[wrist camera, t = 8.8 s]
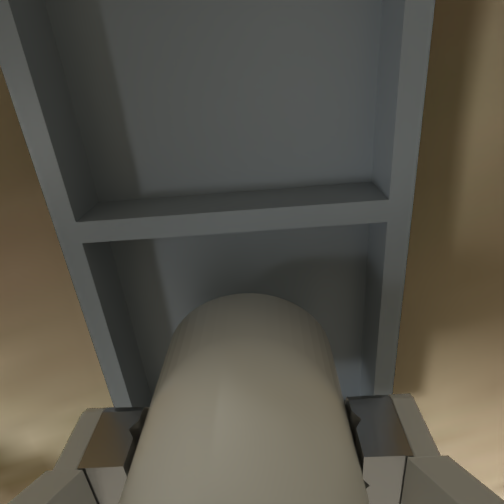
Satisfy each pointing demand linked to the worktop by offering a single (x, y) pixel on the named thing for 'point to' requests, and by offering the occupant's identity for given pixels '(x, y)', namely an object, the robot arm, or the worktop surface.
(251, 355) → the salt pot
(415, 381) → the worktop surface
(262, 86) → the tray
